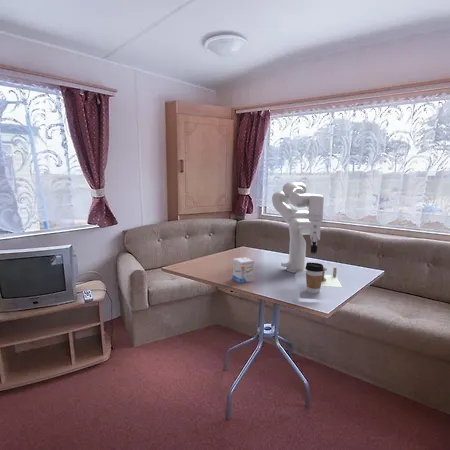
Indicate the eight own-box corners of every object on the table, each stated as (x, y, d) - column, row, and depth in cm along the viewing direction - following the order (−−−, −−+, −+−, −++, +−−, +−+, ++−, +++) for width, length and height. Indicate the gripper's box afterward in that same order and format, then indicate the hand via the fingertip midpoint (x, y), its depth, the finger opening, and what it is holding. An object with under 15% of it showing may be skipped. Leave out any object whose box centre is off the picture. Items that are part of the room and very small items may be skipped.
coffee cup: (301, 290, 155) (303, 261, 152) (318, 290, 155) (319, 261, 153) (307, 297, 146) (309, 266, 144) (324, 296, 147) (326, 266, 145)
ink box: (239, 283, 164) (240, 262, 162) (232, 278, 171) (232, 258, 169) (253, 281, 168) (254, 260, 166) (245, 276, 175) (246, 256, 173)
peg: (316, 254, 165) (317, 239, 164) (310, 254, 166) (311, 239, 165) (316, 253, 168) (317, 238, 167) (310, 252, 169) (311, 238, 168)
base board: (316, 288, 158) (316, 285, 158) (312, 276, 177) (312, 274, 176) (342, 290, 156) (342, 287, 156) (335, 278, 175) (335, 275, 174)
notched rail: (315, 275, 174) (315, 266, 173) (314, 274, 176) (315, 266, 175) (336, 276, 172) (336, 268, 171) (335, 275, 174) (336, 267, 173)
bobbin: (315, 281, 164) (315, 269, 163) (314, 277, 170) (314, 266, 169) (326, 282, 163) (327, 270, 162) (325, 278, 169) (326, 266, 168)
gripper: (323, 220, 156) (321, 255, 158) (322, 216, 171) (320, 249, 174) (307, 219, 158) (306, 254, 160) (308, 216, 173) (306, 248, 176)
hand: (313, 251), depth 167 cm, fingers closed on peg, 3 cm apart
